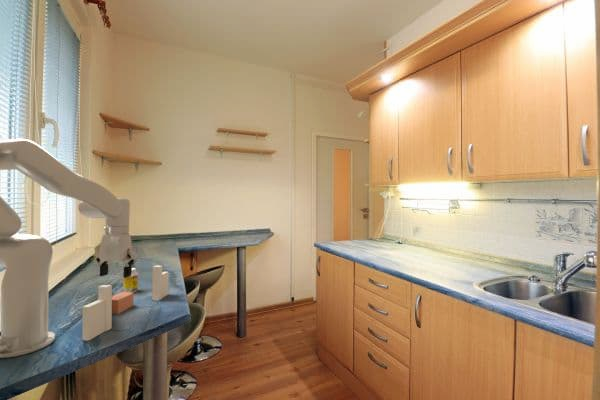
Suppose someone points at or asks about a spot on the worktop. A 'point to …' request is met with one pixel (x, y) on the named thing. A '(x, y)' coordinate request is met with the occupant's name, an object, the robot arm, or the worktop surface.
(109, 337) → the worktop surface
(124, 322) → the worktop surface
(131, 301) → the salmon orange block
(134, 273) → the supplement bottle
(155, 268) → the wall frame
